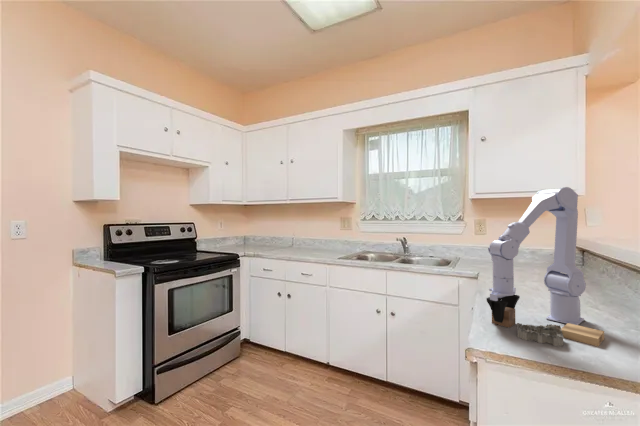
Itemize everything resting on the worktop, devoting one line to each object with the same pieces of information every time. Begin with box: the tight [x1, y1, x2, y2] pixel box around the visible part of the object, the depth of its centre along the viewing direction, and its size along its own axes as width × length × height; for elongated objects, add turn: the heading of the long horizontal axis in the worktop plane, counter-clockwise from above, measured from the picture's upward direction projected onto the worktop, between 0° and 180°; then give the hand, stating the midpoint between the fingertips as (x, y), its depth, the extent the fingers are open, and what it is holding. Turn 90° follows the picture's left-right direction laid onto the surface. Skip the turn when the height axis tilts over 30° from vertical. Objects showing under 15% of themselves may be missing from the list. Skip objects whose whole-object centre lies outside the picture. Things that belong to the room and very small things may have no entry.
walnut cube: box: [491, 307, 516, 329], centre depth 93 cm, size 5×5×5 cm
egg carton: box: [516, 322, 565, 347], centre depth 82 cm, size 11×8×4 cm
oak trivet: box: [561, 323, 605, 347], centre depth 82 cm, size 8×8×2 cm
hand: (503, 319), depth 93 cm, fingers open, 7 cm apart
